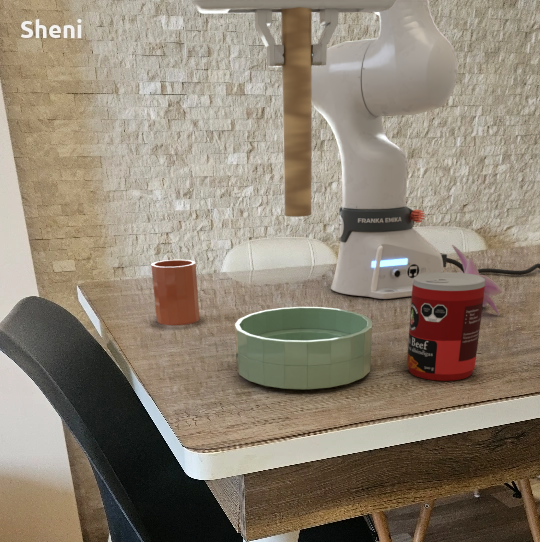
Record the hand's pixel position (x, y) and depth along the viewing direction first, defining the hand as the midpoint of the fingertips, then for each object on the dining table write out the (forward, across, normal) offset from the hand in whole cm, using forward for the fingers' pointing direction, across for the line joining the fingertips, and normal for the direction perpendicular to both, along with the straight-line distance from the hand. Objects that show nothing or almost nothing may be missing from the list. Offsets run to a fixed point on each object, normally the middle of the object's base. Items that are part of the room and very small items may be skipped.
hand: (296, 66), depth 67 cm
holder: (+32, +14, -27) cm, 44 cm away
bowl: (+32, 0, +1) cm, 32 cm away
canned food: (+32, -16, +5) cm, 36 cm away
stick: (+14, 0, 0) cm, 14 cm away
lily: (+32, -32, -21) cm, 50 cm away
